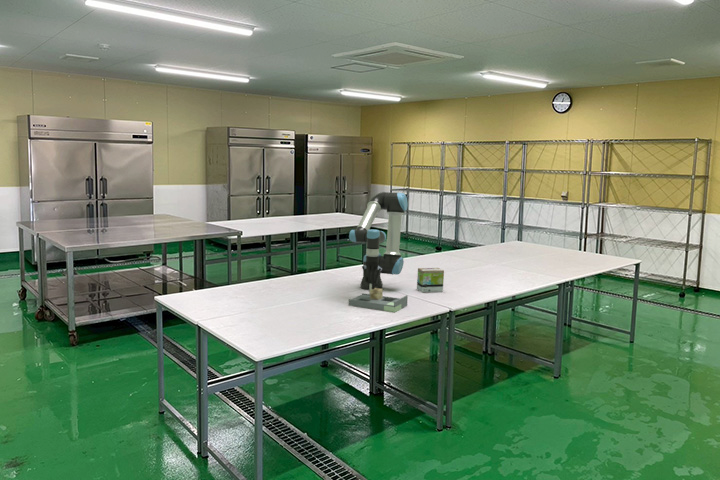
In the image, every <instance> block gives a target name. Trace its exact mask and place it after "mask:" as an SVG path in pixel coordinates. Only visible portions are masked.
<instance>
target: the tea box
mask: <svg viewBox="0 0 720 480" xmlns="http://www.w3.org/2000/svg"><path fill="white" fill-rule="evenodd" d="M416 277H417V279H416V290H417V291H419V292H420V293H436V292H437V293H440V292H441V293H442V292H444V280H445V279H444V277H445V270H444V269H442V268H439V267H418V268H417V276H416Z"/></svg>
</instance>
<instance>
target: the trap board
mask: <svg viewBox="0 0 720 480" xmlns="http://www.w3.org/2000/svg"><path fill="white" fill-rule="evenodd" d="M408 297H409V296H408V295H405V296H402V297H400V298H399V297H391V296H386V295H385V296H384V295H383V296H382V298H381V299H379V300H377V299H370V294H369V293H361V294H360V295H357V296H355V297H353V298H350V299H349V298H348V306H350V307H351V306H352V307H356V308H358V307H359V308H364V309H371V310H379V311H383V312H384V311H385V312H390V313H397V312H398V311H400V310H402V309H404V308H405V307H407V306H408Z"/></svg>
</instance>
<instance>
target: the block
mask: <svg viewBox="0 0 720 480" xmlns="http://www.w3.org/2000/svg"><path fill="white" fill-rule="evenodd" d="M383 290H384V289H383V288H382V289H380V288H375V289H371V290H370V299H377V300H379V299H381V298H382V296H384V295H383V292H384V291H383Z"/></svg>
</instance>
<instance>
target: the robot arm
mask: <svg viewBox="0 0 720 480" xmlns="http://www.w3.org/2000/svg"><path fill="white" fill-rule="evenodd" d="M408 205H409V204H408V197H407V195H406V194H405V193H403V192H385V191H382V192H380V193H377V194H375V195H374V196H372V197H371V198H370V199H369V201H368V202H367V205H366V209H365V211H364V213H363V215H362V217H361V219H360V221H359V223H358V225H357V227H356V229H351V230H350V231H349V235H348V238H349V241H351V242H352V243H364V244H366V249H365V250H366V251H365V252H366V253H365V255H364V256H363V261H362V263H363V264H362V265H363V266H361V269H362V272H363V273H362V279H361V282H360V285H359V287H360V288H361V289H363V290H367V291H368V294H370V290H371V289H375V288H380V289H383V288H384V286H383V285H384V284H383V281H382V277H381V274H383V275H385V274H386V275H395V276H396V275H400V274H401V273H402V270H403V267H404V262H405V261H404V258H403V257H402V254H401V253H400V245H401V244H400V242H401V228H402V217H403V215H405V211H407V210H408V207H409V206H408ZM383 210H386V214H387V216H388V219H387V220H388V221H387V232H384V231H382V230H379V229H371V226H372V224H373V223H374V221H375V218H376V217H377V215H378V213H380V212H381V211H383ZM386 233H387V234H386ZM385 241H386V249H385V252H383V255H382V254H381V253H380V244H384V242H385Z"/></svg>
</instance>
